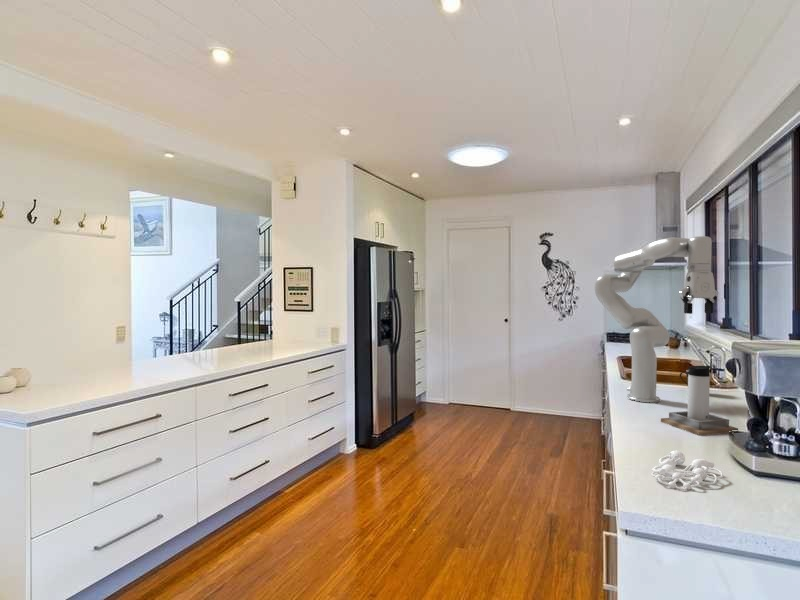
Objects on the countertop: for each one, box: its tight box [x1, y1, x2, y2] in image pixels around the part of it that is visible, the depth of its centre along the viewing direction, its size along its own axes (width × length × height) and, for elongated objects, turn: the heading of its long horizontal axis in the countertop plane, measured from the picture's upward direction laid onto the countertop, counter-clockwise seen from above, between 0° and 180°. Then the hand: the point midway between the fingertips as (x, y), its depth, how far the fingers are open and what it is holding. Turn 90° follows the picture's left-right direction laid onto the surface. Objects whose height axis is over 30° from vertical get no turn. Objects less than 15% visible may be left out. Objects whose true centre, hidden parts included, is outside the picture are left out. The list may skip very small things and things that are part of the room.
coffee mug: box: [679, 369, 689, 386], centre depth 215 cm, size 12×9×10 cm
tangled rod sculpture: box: [650, 450, 724, 491], centre depth 118 cm, size 19×14×4 cm
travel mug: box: [687, 365, 712, 421], centre depth 162 cm, size 6×7×20 cm
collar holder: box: [660, 410, 739, 436], centre depth 162 cm, size 16×16×4 cm
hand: (698, 313), depth 181 cm, fingers open, 9 cm apart
